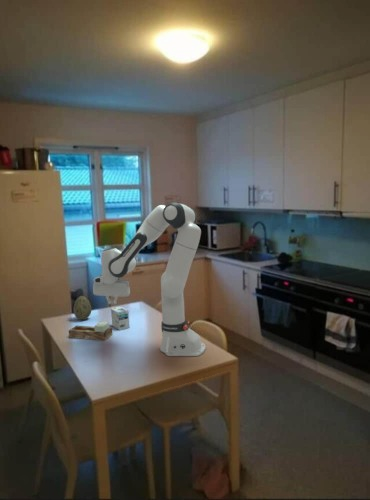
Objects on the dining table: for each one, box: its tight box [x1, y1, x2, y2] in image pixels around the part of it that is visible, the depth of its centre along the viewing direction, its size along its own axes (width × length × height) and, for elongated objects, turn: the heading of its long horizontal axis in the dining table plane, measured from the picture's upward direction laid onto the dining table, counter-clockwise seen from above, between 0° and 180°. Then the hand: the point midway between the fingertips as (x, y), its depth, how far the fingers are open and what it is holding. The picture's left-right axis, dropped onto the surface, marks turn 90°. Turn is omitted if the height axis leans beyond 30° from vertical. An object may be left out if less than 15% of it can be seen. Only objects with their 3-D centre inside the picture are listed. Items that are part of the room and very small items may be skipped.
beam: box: [68, 324, 113, 341], centre depth 210 cm, size 22×8×4 cm, turn 75°
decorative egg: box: [72, 295, 92, 321], centre depth 238 cm, size 11×11×15 cm
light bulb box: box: [110, 305, 130, 331], centre depth 224 cm, size 11×7×11 cm, turn 34°
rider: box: [93, 321, 110, 332], centre depth 208 cm, size 5×7×5 cm
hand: (112, 303), depth 204 cm, fingers closed
